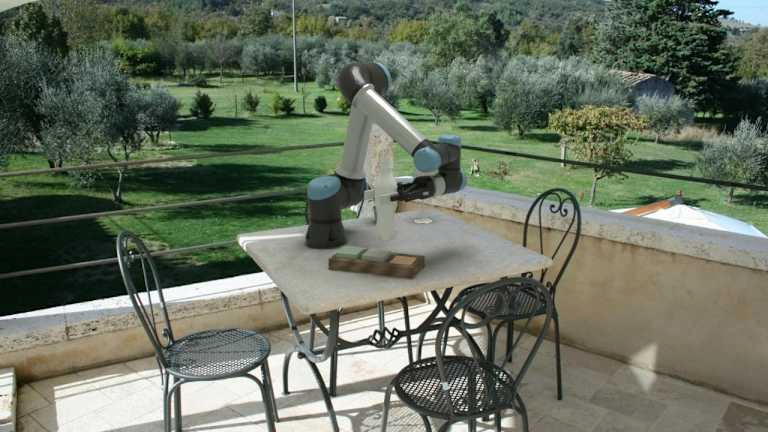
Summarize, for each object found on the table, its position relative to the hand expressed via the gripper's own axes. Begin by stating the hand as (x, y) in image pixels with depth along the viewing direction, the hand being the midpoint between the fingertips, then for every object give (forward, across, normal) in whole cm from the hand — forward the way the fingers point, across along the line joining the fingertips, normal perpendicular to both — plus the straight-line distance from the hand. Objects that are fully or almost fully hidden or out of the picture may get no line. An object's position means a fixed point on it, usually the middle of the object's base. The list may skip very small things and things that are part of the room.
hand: (372, 197), depth 185 cm
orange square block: (-8, -5, -23) cm, 25 cm away
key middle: (-4, +3, -22) cm, 23 cm away
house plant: (-39, +45, -25) cm, 64 cm away
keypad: (-4, +3, -24) cm, 25 cm away
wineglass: (-52, +33, -25) cm, 66 cm away
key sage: (+1, +11, -22) cm, 25 cm away
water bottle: (-5, 0, -14) cm, 15 cm away
